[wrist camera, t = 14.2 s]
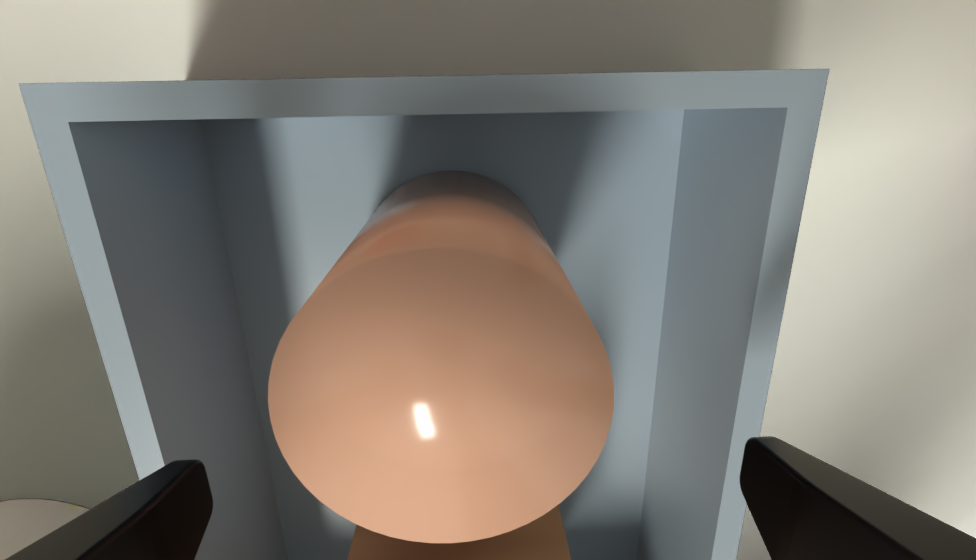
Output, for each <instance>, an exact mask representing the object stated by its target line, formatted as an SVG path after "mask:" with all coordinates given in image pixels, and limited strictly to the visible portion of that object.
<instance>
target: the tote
mask: <svg viewBox="0 0 976 560" xmlns="http://www.w3.org/2000/svg"><path fill="white" fill-rule="evenodd" d="M828 74H829V69H791V70H736V71H681V72H626V73H571V74H516V75H461V76H406V77H351V78H296V79H241V80H186V81H131V82H76V83H21V84H19V87H20V90H21V94H22V97H23V100H24V103H25V107H26V110H27V113H28V117H29V120H30V123H31V126H32V130H33V133H34V136H35V139H36V143H37V146H38V149H39V153H40V156H41V159H42V162H43V166H44V169H45V172H46V176H47V179H48V182H49V185H50V189H51V192H52V195H53V198H54V202H55V205H56V208H57V212H58V215H59V218H60V221H61V225H62V228H63V231H64V235H65V238H66V241H67V244H68V248H69V251H70V254H71V257H72V261H73V264H74V267H75V271H76V274H77V277H78V280H79V284H80V287H81V290H82V294H83V297H84V300H85V303H86V307H87V310H88V313H89V316H90V320H91V323H92V326H93V330H94V333H95V336H96V339H97V343H98V346H99V349H100V353H101V356H102V359H103V362H104V366H105V369H106V372H107V375H108V379H109V382H110V385H111V389H112V392H113V395H114V398H115V402H116V405H117V408H118V412H119V415H120V418H121V421H122V425H123V428H124V431H125V434H126V438H127V441H128V444H129V448H130V451H131V454H132V457H133V461H134V464H135V467H136V471H137V474H138V477H139V480H141V479H143V478H145V477H146V476H148V475H150V474H152V473H153V472H155V471H157V470H158V469H160V468H162V467H163V466H165V465H167V464H169V463H170V462H172V461H175V460H191V459H198V460H200V461H202V462H203V463H204V465H205V468H206V472H207V476H208V480H209V484H210V488H211V492H212V496H213V511H212V515H211V518H210V521H209V523H208V526H207V528H206V531H205V534H204V536H203V539H202V542H201V544H200V547H199V549H198V552H197V555H196V557H195V560H347V559H348V555H349V551H350V547H351V544H352V540H353V536H354V532H355V528H356V524H355V523H353V522H351V521H349V520H347V519H346V518H344V517H342V516H340V515H339V514H337V513H335V512H334V511H333V510H331V509H330V508H329V507H327V506H326V505H325V504H323V503H322V502H321V501H319V500H318V499H317V498H316V497H315V496H314V495H313V494H312V493H311V492H310V491H309V490H308V489H307V488H306V487H305V486H304V485H303V484H302V482H301V481H300V480H299V479H298V478H297V476H296V475H295V474H294V473H293V471H292V470H291V468H290V466H289V465H288V463H287V461H286V460H285V458H284V457H283V455H282V452H281V450H280V448H279V446H278V443H277V441H276V439H275V435H274V432H273V428H272V424H271V421H270V414H269V406H268V384H269V376H270V371H271V366H272V361H273V358H274V355H275V352H276V350H277V347H278V344H279V342H280V340H281V338H282V336H283V334H284V332H285V331H286V329H287V327H288V325H289V324H290V322H291V321H292V319H293V318H294V317H295V315H296V314H297V313H298V311H299V310H300V309H301V307H302V306H303V305H304V304H305V302H306V301H307V300H308V298H309V297H310V296H311V294H312V293H313V292H314V290H315V289H316V288H317V287H318V285H319V284H320V283H321V281H322V280H323V279H324V277H325V276H326V275H327V273H328V272H329V271H330V270H331V268H332V267H333V266H334V264H335V263H336V262H337V260H338V259H339V258H340V256H341V255H342V254H343V253H344V251H345V250H346V249H347V247H348V246H349V245H350V243H351V242H352V241H353V240H354V238H355V237H356V236H357V234H358V233H359V232H360V230H361V229H362V228H363V226H364V225H365V224H366V223H367V221H368V220H369V219H370V217H371V216H372V215H373V213H374V212H375V211H376V209H377V208H378V207H379V206H380V204H381V203H382V202H383V201H384V200H385V199H386V198H387V197H388V196H389V195H390V194H391V193H392V192H393V191H394V190H396V189H397V188H399V187H400V186H401V185H403V184H405V183H407V182H408V181H410V180H412V179H414V178H417V177H420V176H422V175H425V174H429V173H434V172H439V171H465V172H471V173H476V174H479V175H482V176H485V177H488V178H490V179H492V180H495V181H497V182H499V183H500V184H502V185H503V186H505V187H507V188H508V189H510V190H511V191H512V192H513V193H514V194H515V195H517V196H518V197H519V198H520V199H521V200H522V202H523V203H524V204H525V205H526V206H527V207H528V209H529V210H530V212H531V213H532V215H533V216H534V218H535V220H536V222H537V224H538V225H539V227H540V229H541V231H542V233H543V235H544V236H545V238H546V240H547V242H548V244H549V245H550V247H551V249H552V251H553V253H554V254H555V256H556V258H557V260H558V262H559V264H560V265H561V267H562V269H563V271H564V273H565V274H566V276H567V278H568V280H569V282H570V283H571V285H572V287H573V289H574V291H575V293H576V294H577V296H578V298H579V300H580V302H581V303H582V305H583V307H584V309H585V311H586V312H587V314H588V316H589V318H590V320H591V321H592V323H593V325H594V327H595V329H596V331H597V333H598V335H599V337H600V339H601V341H602V343H603V345H604V347H605V350H606V353H607V356H608V359H609V362H610V366H611V370H612V377H613V383H614V409H613V415H612V422H611V426H610V430H609V433H608V436H607V439H606V442H605V445H604V447H603V449H602V451H601V453H600V455H599V457H598V459H597V461H596V463H595V464H594V466H593V467H592V469H591V470H590V472H589V473H588V475H587V476H586V477H585V479H584V480H583V481H582V482H581V483H580V484H579V486H578V487H577V488H576V489H575V490H574V491H573V492H572V493H571V494H570V495H569V496H568V497H567V498H565V499H564V500H563V501H562V502H561V503H560V504H559V508H560V512H561V517H562V521H563V526H564V530H565V534H566V539H567V543H568V548H569V552H570V557H571V560H736V557H737V551H738V546H739V541H740V536H741V530H742V525H743V520H744V515H745V509H746V504H747V503H746V501H745V498H744V496H743V494H742V491H741V488H740V471H741V465H742V460H743V454H744V448H745V444H746V442H747V440H748V439H749V438H751V437H759V436H760V431H761V425H762V420H763V415H764V410H765V404H766V399H767V394H768V389H769V383H770V378H771V373H772V368H773V362H774V357H775V352H776V347H777V341H778V336H779V331H780V326H781V320H782V315H783V310H784V305H785V299H786V294H787V289H788V284H789V278H790V273H791V268H792V263H793V257H794V252H795V247H796V242H797V236H798V231H799V226H800V221H801V215H802V210H803V205H804V200H805V194H806V189H807V184H808V179H809V173H810V168H811V163H812V158H813V152H814V147H815V142H816V137H817V131H818V126H819V121H820V116H821V110H822V105H823V100H824V95H825V89H826V84H827V79H828Z"/></svg>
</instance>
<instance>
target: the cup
mask: <svg viewBox="0 0 976 560" xmlns="http://www.w3.org/2000/svg"><path fill="white" fill-rule="evenodd" d="M88 510H90V509H87V508H84V507H81V506H77V505H73V504H69V503H64V502H59V501H52V500H42V499H17V500H8V501H2V502H0V560H5V559H6V558H8V557H10V556H11V555H13V554H15V553H16V552H18V551H20V550H22V549H23V548H25V547H27V546H28V545H30V544H32V543H34V542H35V541H37V540H39V539H40V538H42V537H44V536H46V535H47V534H49V533H51V532H52V531H54V530H56V529H57V528H59V527H61V526H63V525H64V524H66V523H68V522H69V521H71V520H73V519H75V518H76V517H78V516H80V515H81V514H83V513H85V512H87V511H88Z"/></svg>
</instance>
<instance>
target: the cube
mask: <svg viewBox="0 0 976 560" xmlns="http://www.w3.org/2000/svg"><path fill="white" fill-rule="evenodd" d="M347 560H571V557H570V552H569V548H568V543H567V539H566V534H565V530H564V526H563V521H562V517H561V512H560V508H559V504H558V505H557V506H556V507H554V508H553V509H551V510H550V511H549V512H547V513H546V514H544V515H543V516H541V517H539V518H537V519H535V520H534V521H532V522H530V523H528V524H526V525H524V526H521V527H519V528H517V529H515V530H512V531H510V532H507V533H503V534H500V535H497V536H494V537H490V538H485V539H480V540H475V541H469V542H459V543H424V542H414V541H408V540H403V539H398V538H393V537H389V536H386V535H383V534H380V533H377V532H373V531H371V530H368V529H366V528H364V527H362V526H359V525H357V524H356V528H355V532H354V536H353V540H352V544H351V547H350V551H349V555H348V559H347Z"/></svg>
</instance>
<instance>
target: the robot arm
mask: <svg viewBox="0 0 976 560" xmlns="http://www.w3.org/2000/svg"><path fill="white" fill-rule="evenodd" d="M740 488H741V491H742V494H743V496H744V498H745V501H746V503H747V505H748V507H749V510H750V512H751V514H752V516H753V518H754V521H755V523H756V525H757V527H758V530H759V532H760V534H761V536H762V539H763V541H764V543H765V545H766V548H767V550H768V552H769V554H770V556H771V559H772V560H976V538H974V537H972V536H970V535H968V534H966V533H964V532H962V531H960V530H958V529H956V528H954V527H952V526H950V525H948V524H946V523H944V522H942V521H940V520H938V519H936V518H934V517H932V516H930V515H928V514H926V513H924V512H922V511H920V510H918V509H917V508H915V507H913V506H911V505H909V504H907V503H905V502H903V501H901V500H899V499H897V498H895V497H893V496H891V495H889V494H887V493H885V492H883V491H881V490H879V489H877V488H875V487H873V486H871V485H869V484H867V483H865V482H863V481H861V480H859V479H857V478H855V477H853V476H851V475H849V474H847V473H845V472H843V471H841V470H839V469H837V468H835V467H833V466H831V465H829V464H827V463H825V462H823V461H821V460H820V459H818V458H816V457H814V456H812V455H810V454H808V453H806V452H804V451H802V450H800V449H798V448H796V447H794V446H792V445H790V444H788V443H786V442H784V441H782V440H780V439H778V438H776V437H771V436H769V437H751V438H749V439H748V440H747V442H746V444H745V448H744V454H743V460H742V465H741V471H740ZM212 511H213V496H212V492H211V488H210V484H209V480H208V476H207V472H206V468H205V465H204V463H203V462H202V461H200V460H198V459H191V460H175V461H172V462H170V463H169V464H167V465H165V466H163V467H162V468H160V469H158V470H157V471H155V472H153V473H152V474H150V475H148V476H146V477H145V478H143V479H141V480H140V481H138V482H136V483H134V484H133V485H131V486H129V487H128V488H126V489H124V490H122V491H121V492H119V493H117V494H116V495H114V496H112V497H110V498H109V499H107V500H105V501H104V502H102V503H100V504H99V505H97V506H95V507H93V508H92V509H90V510H88V511H87V512H85V513H83V514H81V515H80V516H78V517H76V518H75V519H73V520H71V521H69V522H68V523H66V524H64V525H63V526H61V527H59V528H57V529H56V530H54V531H52V532H51V533H49V534H47V535H46V536H44V537H42V538H40V539H39V540H37V541H35V542H34V543H32V544H30V545H28V546H27V547H25V548H23V549H22V550H20V551H18V552H16V553H15V554H13V555H11V556H10V557H8V558H6V559H5V560H195V557H196V555H197V552H198V549H199V547H200V544H201V542H202V539H203V536H204V534H205V531H206V528H207V526H208V523H209V521H210V518H211V515H212Z"/></svg>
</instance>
